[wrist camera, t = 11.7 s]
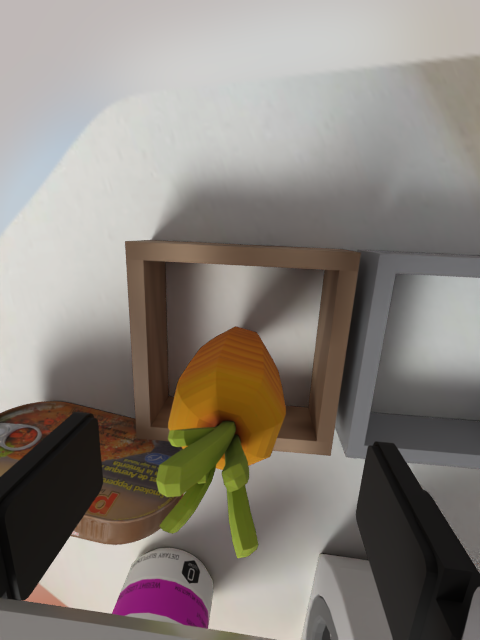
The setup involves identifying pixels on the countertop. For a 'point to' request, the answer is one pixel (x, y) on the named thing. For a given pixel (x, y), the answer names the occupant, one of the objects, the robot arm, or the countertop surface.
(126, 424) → the tin
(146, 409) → the frame
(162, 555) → the supplement can
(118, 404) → the countertop surface
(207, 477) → the carrot
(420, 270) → the charcoal bin
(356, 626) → the alarm clock
